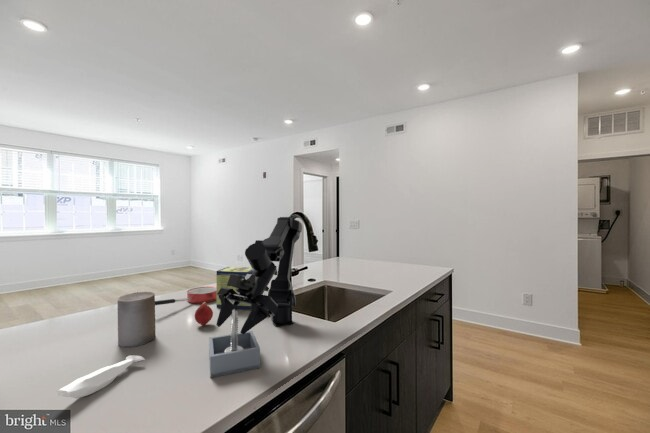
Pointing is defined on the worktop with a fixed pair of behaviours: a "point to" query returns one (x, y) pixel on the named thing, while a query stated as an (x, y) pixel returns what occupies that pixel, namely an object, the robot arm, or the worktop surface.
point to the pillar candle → (136, 319)
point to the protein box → (222, 282)
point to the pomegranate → (203, 314)
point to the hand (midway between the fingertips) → (229, 329)
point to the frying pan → (195, 296)
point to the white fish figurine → (96, 379)
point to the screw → (234, 334)
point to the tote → (233, 354)
